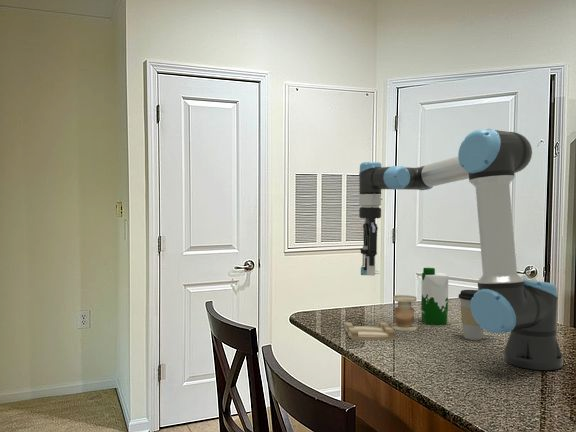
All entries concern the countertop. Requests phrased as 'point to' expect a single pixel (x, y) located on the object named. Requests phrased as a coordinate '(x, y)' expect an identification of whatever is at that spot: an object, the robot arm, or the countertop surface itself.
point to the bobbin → (404, 313)
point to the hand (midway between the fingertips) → (369, 274)
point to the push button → (364, 252)
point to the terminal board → (370, 332)
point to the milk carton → (434, 297)
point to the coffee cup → (469, 317)
